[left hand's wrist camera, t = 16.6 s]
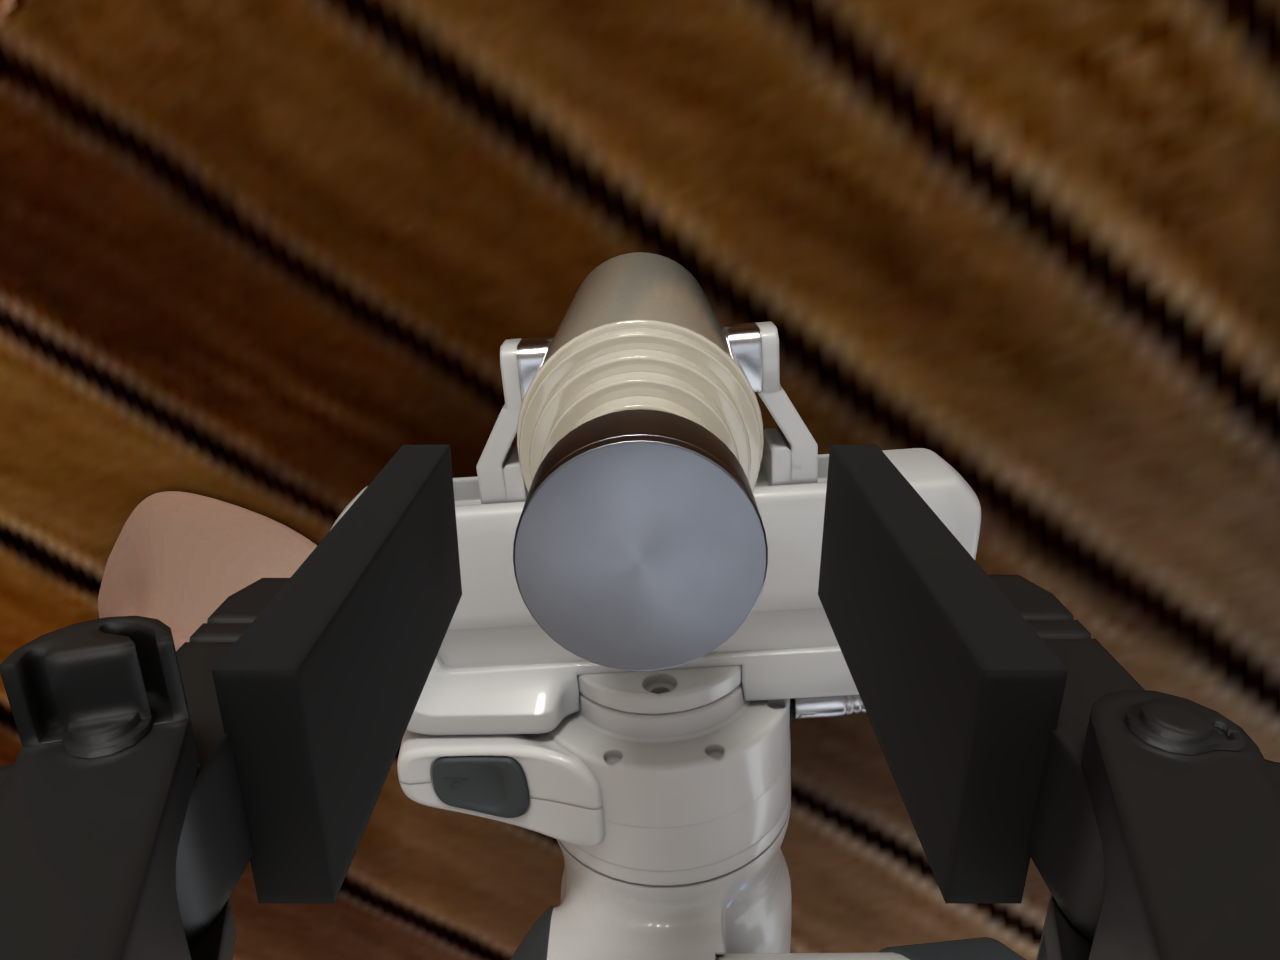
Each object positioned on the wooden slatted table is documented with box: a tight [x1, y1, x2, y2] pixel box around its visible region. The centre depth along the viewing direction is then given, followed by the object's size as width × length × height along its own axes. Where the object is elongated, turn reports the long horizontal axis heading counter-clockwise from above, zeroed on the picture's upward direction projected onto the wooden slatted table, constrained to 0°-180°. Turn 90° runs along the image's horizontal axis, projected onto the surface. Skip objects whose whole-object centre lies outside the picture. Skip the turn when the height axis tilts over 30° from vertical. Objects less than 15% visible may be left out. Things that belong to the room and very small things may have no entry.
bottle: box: [517, 252, 764, 492], centre depth 22 cm, size 5×5×20 cm
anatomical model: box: [98, 491, 317, 651], centre depth 34 cm, size 13×4×12 cm
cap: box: [513, 409, 768, 671], centre depth 13 cm, size 4×4×2 cm
